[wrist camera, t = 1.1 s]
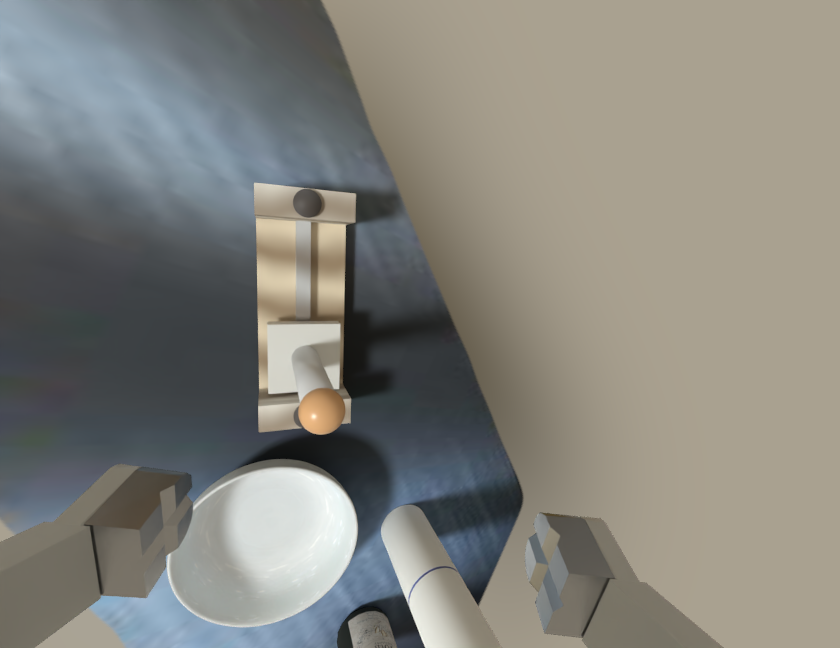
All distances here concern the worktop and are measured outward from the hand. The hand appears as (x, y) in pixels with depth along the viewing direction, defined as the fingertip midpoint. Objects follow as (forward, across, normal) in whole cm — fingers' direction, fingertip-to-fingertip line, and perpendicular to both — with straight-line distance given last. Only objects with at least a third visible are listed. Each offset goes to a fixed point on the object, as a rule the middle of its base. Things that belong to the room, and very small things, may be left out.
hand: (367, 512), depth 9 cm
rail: (+40, +11, +9) cm, 42 cm away
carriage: (+36, +10, +14) cm, 40 cm away
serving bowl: (+34, +12, +37) cm, 51 cm away
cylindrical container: (+39, -6, +42) cm, 57 cm away
